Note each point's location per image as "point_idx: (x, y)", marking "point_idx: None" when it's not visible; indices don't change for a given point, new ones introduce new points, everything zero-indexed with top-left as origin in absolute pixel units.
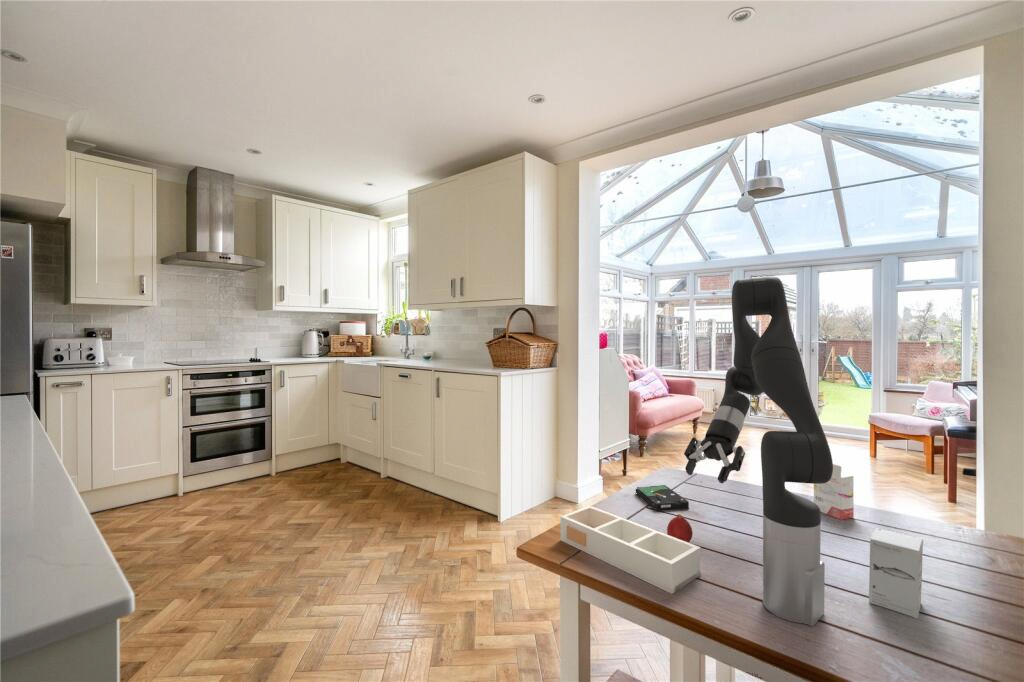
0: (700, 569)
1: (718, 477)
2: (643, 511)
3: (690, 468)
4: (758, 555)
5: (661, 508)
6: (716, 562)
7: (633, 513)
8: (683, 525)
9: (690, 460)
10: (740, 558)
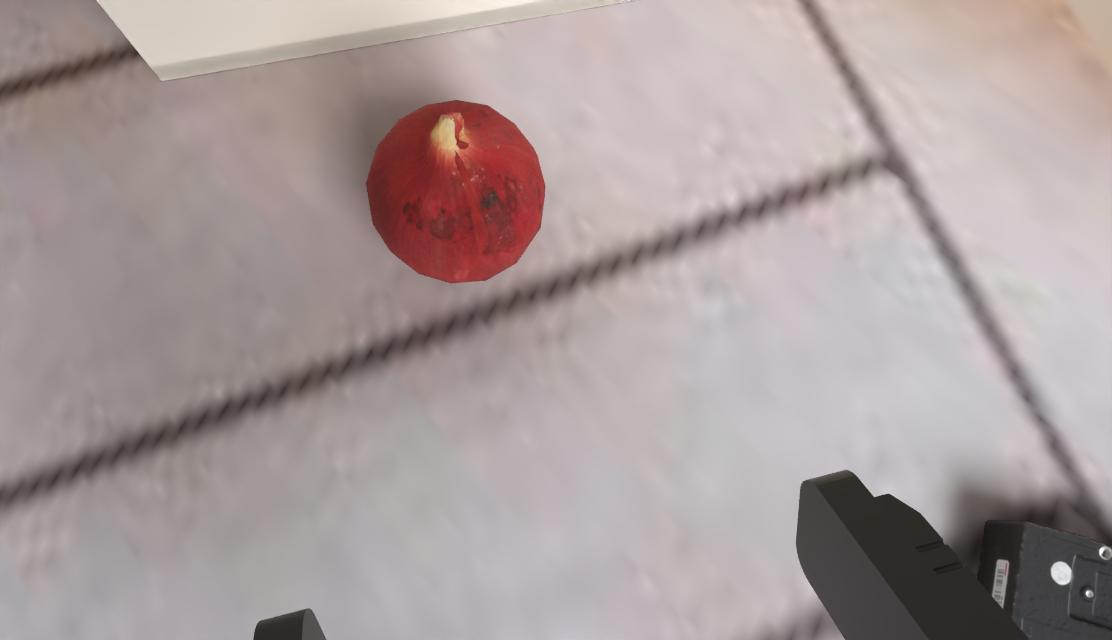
0: (146, 61)
1: (289, 619)
2: (1013, 423)
3: (839, 543)
4: (104, 594)
5: (992, 562)
6: (204, 268)
7: (1003, 332)
8: (392, 142)
9: (980, 631)
10: (150, 444)
